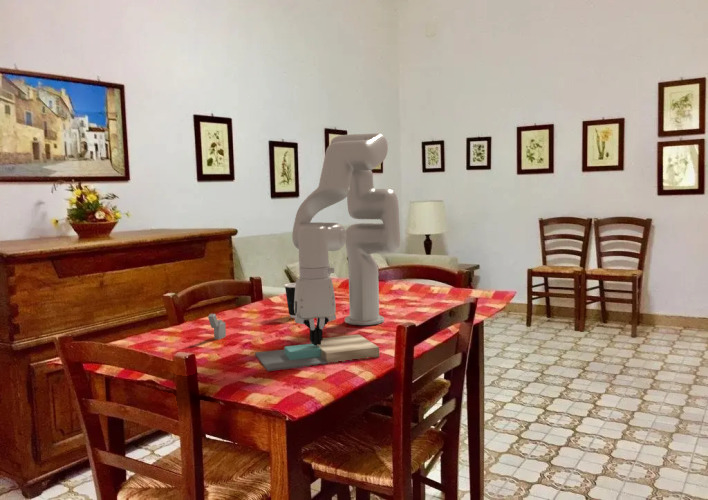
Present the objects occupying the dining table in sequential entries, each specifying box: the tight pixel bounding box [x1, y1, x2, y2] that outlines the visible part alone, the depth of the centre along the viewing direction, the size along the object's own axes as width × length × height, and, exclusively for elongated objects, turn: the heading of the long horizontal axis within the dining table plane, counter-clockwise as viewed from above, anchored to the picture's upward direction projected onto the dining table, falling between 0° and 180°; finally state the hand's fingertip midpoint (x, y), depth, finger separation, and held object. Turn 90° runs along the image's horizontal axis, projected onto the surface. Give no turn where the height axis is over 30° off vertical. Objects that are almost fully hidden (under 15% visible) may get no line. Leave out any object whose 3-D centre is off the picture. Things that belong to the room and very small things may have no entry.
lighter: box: [207, 313, 227, 341], centre depth 179 cm, size 7×2×8 cm, turn 164°
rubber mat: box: [254, 348, 329, 372], centre depth 156 cm, size 16×15×1 cm
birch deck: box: [309, 333, 380, 364], centre depth 161 cm, size 15×14×2 cm
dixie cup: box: [283, 282, 296, 319], centre depth 207 cm, size 8×8×11 cm
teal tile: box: [284, 343, 321, 360], centre depth 158 cm, size 6×8×2 cm
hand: (316, 343), depth 159 cm, fingers closed
